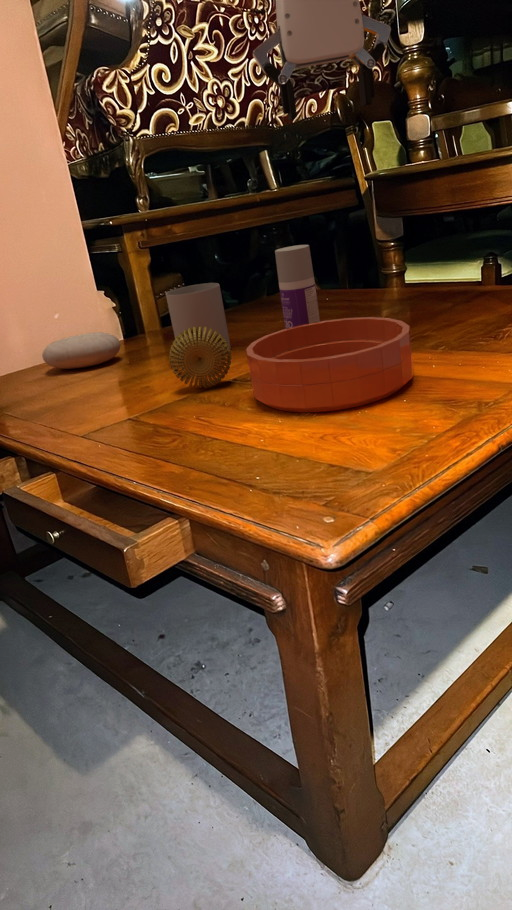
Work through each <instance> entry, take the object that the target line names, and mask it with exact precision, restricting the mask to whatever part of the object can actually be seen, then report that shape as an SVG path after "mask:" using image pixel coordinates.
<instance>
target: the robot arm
mask: <svg viewBox="0 0 512 910" xmlns="http://www.w3.org/2000/svg"><path fill="white" fill-rule="evenodd" d="M361 9H362V8H361V3H360V0H275V12H276V13H275V16H276V27H277V30H276V31H274V32H273V33H272V34H271V35H270V36H268V37H267V38H266V39H265V40H264V41H263V42H261V43H260V44H259V45H258V46H257V47H256V48H254V50H253V51H252V57H253V59H254V60H255V62H256V63H257V64H258V66H259V68H260V70H261V71H262V73H263V75H264V76H266V77H267V78H268V79H269V80H271V81H272V82H273V83H274V84H276V86H277V87H278V88H279V93H280V100H281V108H282V114H283V115H287V117H288V118H287V119H288V121H289V122H290V121H294V120H295V119H296V118H297V117H298V111H297V106H296V96H295V89H294V84H292V82H291V75H292V74H293V72H294V70H295V69H300V68H308V67H314V66H318V65H319V66H320V65H325V64H330V63H336V62H340V61H346V60H349V59H351V61H352V62H353V63H354V64H355V65H356V66H357V67H358V68H359V73H358V74H357V80H358V92H359V100H360V107H362V108H368V107H370V106H371V105H372V103H373V102H372V99H374V98H375V96H376V91H375V81H374V80H375V79H374V70H373V69H374V68H375V67H376V65H377V63H378V61H379V60H380V59H381V57H382V55H383V54H384V53H385V51H386V46H387V44H388V41H389V37H390V36H391V35H390V34H391V32H392V27H391V26H390V25H389V24H387V23H385V22H382V21H380V20H376V19H375V18H372V17H370V16H367V15H365V14H362V10H361ZM365 32H367V33H370V34H372V35H374V36H375V42H374V45H373V48H372V49H371V50H370V52H368V51H367V50H366V49H365V47H364V45H365ZM277 46H278V48H279V55H280V61H281V64H282V66H283V67H282V68H281V70H280V69H278V68H277V66H275V65H274V64H273V63H272V62H271V61H270V59H269V57H268V54H269V53H270V52H271V51H272V50H274V48H276V47H277Z"/></svg>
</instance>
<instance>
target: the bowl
mask: <svg viewBox="0 0 512 910" xmlns="http://www.w3.org/2000/svg"><path fill="white" fill-rule="evenodd" d="M411 337H412V335H411V326H410V324H407V323H406V322H404V321H403V320H401V319H400V320H399V319H395V318H389V317H379V316H377V317H376V316H366V317H365V316H363V317H362V316H361V317H343V318H336V319H327V320H320V322H315V323H309V324H304V325H299V326H295V327H291V328H288V329H285V328H284V329H281V330H277V331H275V332H272V333H269V334H267V335H264V336H262V337H259V338H258V339H256V340H254V341H252V342H251V343H250V344H249V345H248V346H247V347H246V348H245V354H246V359H247V363H248V364H247V365H248V370H249V376H250V377H249V378H250V381H251V388H252V392H253V396H254V399H255V400H257V401H259V402H260V403H262V404H264V405H266V406H267V407H270V408H271V409H275V410H279V411H284V412H289V413H290V412H291V413H292V412H293V413H320V412H321V413H322V412H332V411H341V410H346V409H347V410H348V409H351V408H357V407H360V406H365V405H369V404H371V403H375V402H377V401H380V400H383V399H385V398H387V397H390V396H391V395H394V394H395V393H397V392H398V391H400V390H401V389H403V387H404V386H405V385H406V384H407V383H408V382H409V381H411V380H412V378H413V377H414V376H413V375H414V363H413V361H414V360H413V350H412V338H411Z"/></svg>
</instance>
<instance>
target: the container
mask: <svg viewBox="0 0 512 910" xmlns="http://www.w3.org/2000/svg"><path fill="white" fill-rule="evenodd" d="M310 249H311V248H310V245H309V244H298V245H292V246H291V245H290V246H286V247H282V248H277V249H275V250H274V254H275V264H276V271H277V272H276V273H277V280H278V287H279V294H280V302H281V308H282V315H283V322H284V327H285V328H284V329H288V328H291V327H295V326H299V325H304V324H309V323H315V322H321V319H320V312H319V303H318V296H317V288H316V281H315V275H314V274H315V273H314V269H313V262H312V256H311V255H312V254H311V250H310Z"/></svg>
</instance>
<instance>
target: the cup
mask: <svg viewBox="0 0 512 910" xmlns="http://www.w3.org/2000/svg"><path fill="white" fill-rule="evenodd" d="M165 297H166V303H167V307H168V312H169V316H170V317H169V318H170V320H171V326H172V331H173V335H174V339H175V338H176V337H177V336H179V334H180V333H181V332H182V333H183V331H184V330H188V328H190V327H191V328H192V329H193V327H197V329H198V328H199V326H202V335H203V330H204V326H205V327H207V330H206V336H207V333H208V331H209V328H211V329H212V330H211V333H210V336H211V334H212V333H213V331H214V330H215V331H217V332H216V335H217V334H218V333H220V334H221V337H224V338H225V339H224V341H227V342H228V344H227V345H229V347H230V349H229V350H230V351H231V349H232V348H231V342H230V335H229V330H228V325H227V319H226V313H225V308H224V303H223V297H222V291H221V286H220V284H219V283H218V282H207V283H206V282H205V283H199V284H192V285H187V286H183V287H178V288H174V289H172V290H169V291H167V292H165ZM191 334H192V333H191ZM216 335H215V336H216ZM187 336H188V334H187ZM210 336H209V338H210ZM188 337H189V336H188ZM192 337H193V335H192ZM196 337H197V336H196ZM183 338H184V337H183ZM193 338H194V337H193ZM184 339H185V338H184ZM205 340H206V337H205ZM179 341H181V340H179ZM214 341H215V340H214ZM181 342H182V341H181ZM219 342H220V341H219ZM219 342H218V343H219ZM218 343H216V344H218ZM176 344H177V345H179V344H178V343H176ZM216 344H215V345H216ZM187 345H188V344H187ZM220 346H222V345H220ZM185 347H186V346H185ZM181 349H182V348H181ZM224 349H226V348H223V349H222V350H224ZM180 353H181V352H180ZM180 356H181V355H180Z"/></svg>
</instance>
